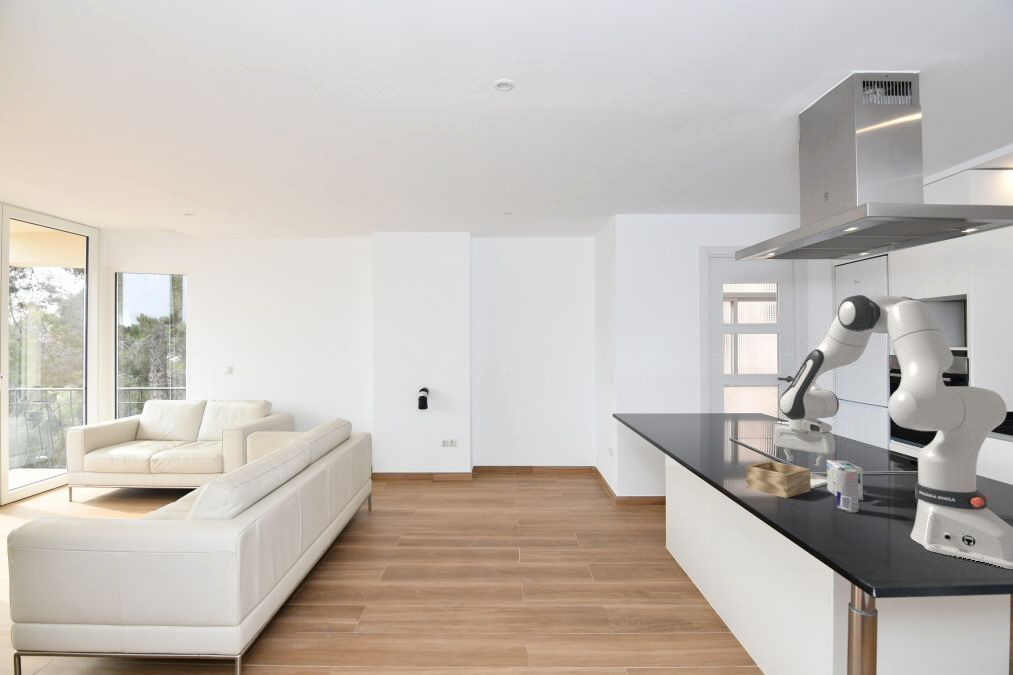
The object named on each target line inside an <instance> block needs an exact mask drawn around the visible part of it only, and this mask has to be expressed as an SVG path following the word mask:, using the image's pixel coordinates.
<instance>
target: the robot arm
mask: <svg viewBox="0 0 1013 675" xmlns="http://www.w3.org/2000/svg"><path fill="white" fill-rule="evenodd" d="M872 333H874V334H875V333H876V334H888V335H889V339H890V341H891V343H892V347H893V350H894V352H895V355H896V358H897V361H898V364H899V369H900V372H901V373H900V374H901V378H900V383H899V386H898V388H897V389H896V390H895V391H894V392H893V393H892V394H891V395H890V397H889V400H888V403H887V410H888V414H889V416H890V418H891V419H892V421H893V422H894V423H895V424H896V425H898V426H899V427H901V428H904V429H907V430H908V429H909V430H915V431H920V432H936V435H935V436H934V438H933V440H932V441H931V442H930V443H928V444H927V445H925V446H923V447H922V448H921V449H920V450H919V452H918V455H917V470H918V471H917V476H918V477H917V482H916V483H915V491H914V492H915V502H916V504H917V506H916V514H915V520H914V525H913V528H912V530H911V533H910V538H911V539H912V540H913V541H915V542H916V543H918V544H919V545H922V546H923V547H924V549H925V550H927V551H930V552H933V553H937V554H941V555H947V556H950V555H951V557H954V556H956V557H955V558H959V557H962V558H961V559H963V558H966V559H965V560H967V559H971V560H970V561H972V560H975V561H974V562H976V561H980V562H985V563H989V564H993V565H992V566H994V565H996V566H995V567H998V566H1000V567H999V568H1002V567H1003V568H1004V569H1007V570H1013V526H1011V525H1010V524H1009V523H1007V521H1004V520H1003V519H1002V518H1000V517H999V516H998V515H997V514H995V513H994V512H993V511H991V510H990V509H989V508H988V500H989V494H985V495H984V494H983V493H982V492H981V491H979V490H978V489H977V463H978V456H979V454H980V450H981V449H982V447H983V444H984V442H985V440H986V439H987V438H988V436H989V435H990V434H991V432H992V431H994V429H996V428H997V427H999V426H1000V425H1002V424H1003V423H1004V421H1005V420H1006V417H1007V412H1008V409H1007V405H1006V402H1005V401H1004V399H1003V397H1002V396H1001V395H1000V394H999V393H998V392H996V391H994V390H991V389H986V388H982V387H976V386H968V385H967V386H964V385H963V386H959V385H958V386H953V385H952V386H947V385H945V382H944V380H943V373H945V372H946V371H948V370H949V369H950V368H951V366H952V365H953V362H954V354H953V353H952V350H951V348H950V345H949V343H948V341H947V339H946V337H945V334H944V332H943V330H942V327H941V326H940V324H939V322H938V320H937V319H936V317H935V315H934V314H933V312H932V311H931V310H930V308H929V307H928V306H927V305H926V304H925V303H924V302H922V301H921V300H917V299H915V298H912V297H908V296H896V295H895V296H893V295H885V294H869V295H868V294H867V295H862V294H857V295H853V296H852V295H851V296H849V297H846V298H845V299H843V300H842V302H841V303H840V305H839V306H838V310H837V314H836V316H835V318H834V319H833V321H832V323H831V325H830V327H829V329H828V331H827V333H826V336H825V337H824V339H823V341H822V342H820V344H819V345H818V346H817V347H816V348H815V349H813V350H812V351H811V352H810V353H808V355H807V356H806V358H805V359H804V361H803V362H802V363H801V365H800V367H799V369H798V371H797V373H796V374H795V376H794V377H793V380H791V381H790V383H789V385H788V387H787V388H786V389H785V390H784V391H783V393H782V395H780V398H779V402H778V406H779V409H780V411H781V412H782V414H783V415H784V416H785V417H786V418H788V422H787V421H780V420H779V421H777V422H775V423H774V426H773V429H774V434H773V444H774V446H775V447H779V448H783V452H784V454H785V456H786V460H787V461H788V462H789V461H790V462H793V461H794V455H792V454H791V450H796V451H797V450H798V451H802V452H803V451H804V452H808V453H809V452H811V453H815V454H816V456H817V458H816V459H813V465H814V466H816V467H820V466H821V461H822V460H823V458H824V457H825V455H833V454H834V453H835V452H836V441H835V436H834V434H833V433H832V431H833V425H832V424H829V423H826V422H824V421H822V420H820V419H827V418H833V417H834V416H836V415H837V413H838V411H839V408H840V401H839V399H838V397H837V394H835V392H833V391H831V390H827V389H825V388H823V387H821V386H819V385H818V384H817V383H816V381H817V380H818V378H819V377H820V376H821V375H823V374H825V373H826V372H828V371H831V370H833V369H837V368H840V367H845V366H849V365H851V364H853V363H855V362H857V361H858V360H859V359H860V357H862V355H863V353H864V352H865V350H866V347H867V345H868V342H869V340H870V338H871V336H872ZM980 562H979V563H980ZM985 563H984V564H985ZM989 564H988V565H989Z"/></svg>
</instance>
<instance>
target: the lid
mask: <svg viewBox="0 0 1013 675" xmlns="http://www.w3.org/2000/svg"><path fill="white" fill-rule="evenodd" d="M825 485H827V476H824V475H820V474H815V473H811V472H810V487H811V488H813V489H815V488H818V487H821V486H825Z"/></svg>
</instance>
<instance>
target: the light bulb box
mask: <svg viewBox="0 0 1013 675" xmlns="http://www.w3.org/2000/svg"><path fill="white" fill-rule="evenodd" d="M838 468H850V469H855V470H857V472H858V501H863V500H864V493H863V492H864V491H863V489H864V488H863V468H862V467H860V466H857V465H856V464H853V463H852V462H850V461H848V460H834V459H833V460H831V459H827V460H826V477H827V484H826V487H827V488H826V489H827V490H828V492H830V493H832V495H834V496H835V497H837V470H838Z"/></svg>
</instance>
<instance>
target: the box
mask: <svg viewBox="0 0 1013 675" xmlns="http://www.w3.org/2000/svg"><path fill="white" fill-rule="evenodd" d="M810 473H811V468H807V467H802V466H797V465H792V464H787V463H783V462H777V461H772V460H768V461H763V462H762V461H761V462H759V463H754V464H749V465H746V466H745V488H746V489H750V490H754V491H758V492H760V493H761V492H762V493H765V494H769V495H772V496H773V495H774V496H777V497H780V498H781V497H782V498H785V499H788V498H792V497H795V496H799V495H801V494H805V493H809V492H811V487H810Z"/></svg>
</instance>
